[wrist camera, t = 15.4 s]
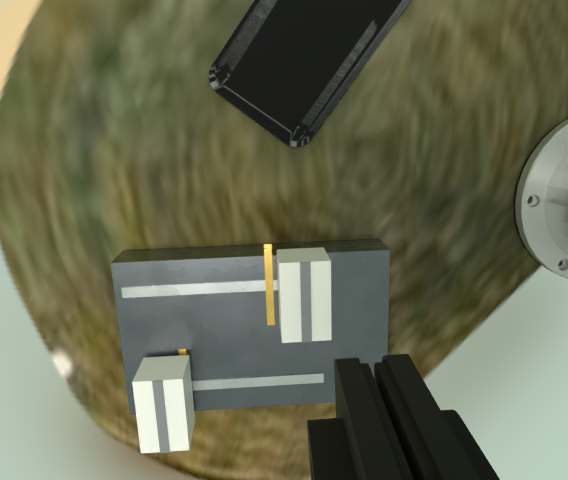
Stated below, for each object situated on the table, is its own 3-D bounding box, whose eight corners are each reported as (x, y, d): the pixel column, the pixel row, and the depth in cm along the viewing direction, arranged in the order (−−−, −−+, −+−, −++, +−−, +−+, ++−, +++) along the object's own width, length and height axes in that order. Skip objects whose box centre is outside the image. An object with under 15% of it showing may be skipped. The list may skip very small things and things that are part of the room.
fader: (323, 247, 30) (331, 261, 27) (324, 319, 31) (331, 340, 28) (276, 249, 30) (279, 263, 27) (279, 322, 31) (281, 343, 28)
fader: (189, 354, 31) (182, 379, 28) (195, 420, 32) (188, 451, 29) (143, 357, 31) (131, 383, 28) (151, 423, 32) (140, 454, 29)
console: (378, 227, 33) (391, 238, 30) (375, 385, 36) (386, 409, 33) (122, 239, 32) (108, 251, 29) (141, 400, 36) (131, 426, 33)
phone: (201, 81, 30) (346, -139, 27) (203, 82, 31) (342, -130, 28) (301, 155, 31) (447, -47, 29) (300, 154, 32) (440, -41, 30)
